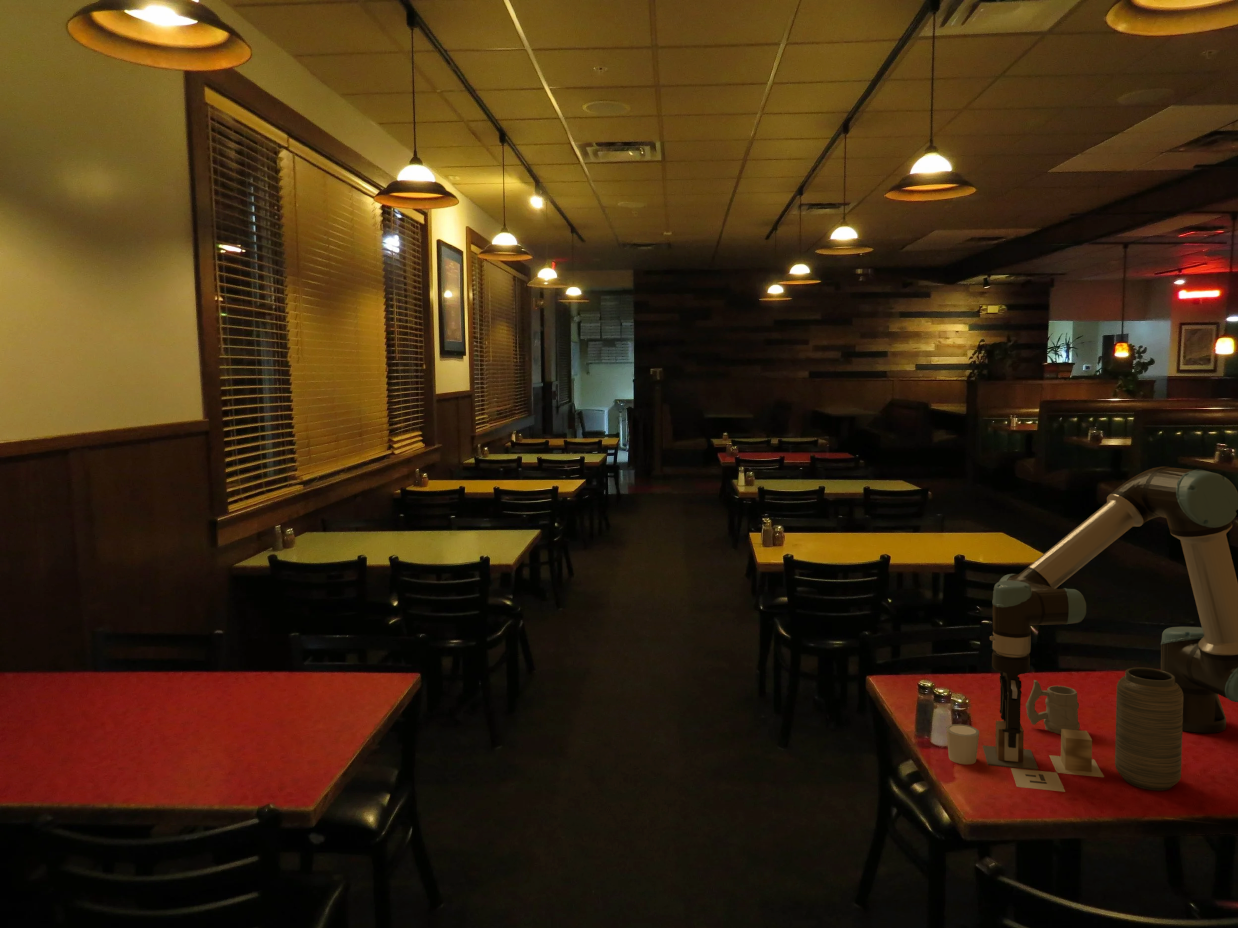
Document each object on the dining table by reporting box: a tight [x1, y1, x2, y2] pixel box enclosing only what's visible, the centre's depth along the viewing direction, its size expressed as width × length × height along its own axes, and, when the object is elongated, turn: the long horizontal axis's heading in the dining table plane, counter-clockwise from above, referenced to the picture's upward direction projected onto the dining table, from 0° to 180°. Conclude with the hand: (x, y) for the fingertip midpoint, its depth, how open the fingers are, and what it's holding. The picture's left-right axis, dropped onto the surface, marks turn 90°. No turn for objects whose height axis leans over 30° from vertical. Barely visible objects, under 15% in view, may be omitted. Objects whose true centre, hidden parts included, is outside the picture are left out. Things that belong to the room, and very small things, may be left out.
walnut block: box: [995, 720, 1025, 762], centre depth 189 cm, size 5×5×7 cm
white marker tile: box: [1010, 767, 1066, 793], centre depth 178 cm, size 9×9×1 cm
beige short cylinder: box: [945, 723, 980, 765], centre depth 189 cm, size 7×7×7 cm
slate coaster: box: [982, 744, 1039, 771], centre depth 189 cm, size 10×10×1 cm
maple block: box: [1060, 729, 1093, 772], centre depth 184 cm, size 5×5×7 cm
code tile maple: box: [1048, 755, 1105, 778], centre depth 184 cm, size 9×9×1 cm
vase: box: [1114, 667, 1183, 792], centre depth 176 cm, size 12×12×23 cm
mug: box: [1025, 679, 1081, 735], centre depth 204 cm, size 8×12×12 cm, turn 80°
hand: (1009, 754), depth 189 cm, fingers closed on walnut block, 5 cm apart
